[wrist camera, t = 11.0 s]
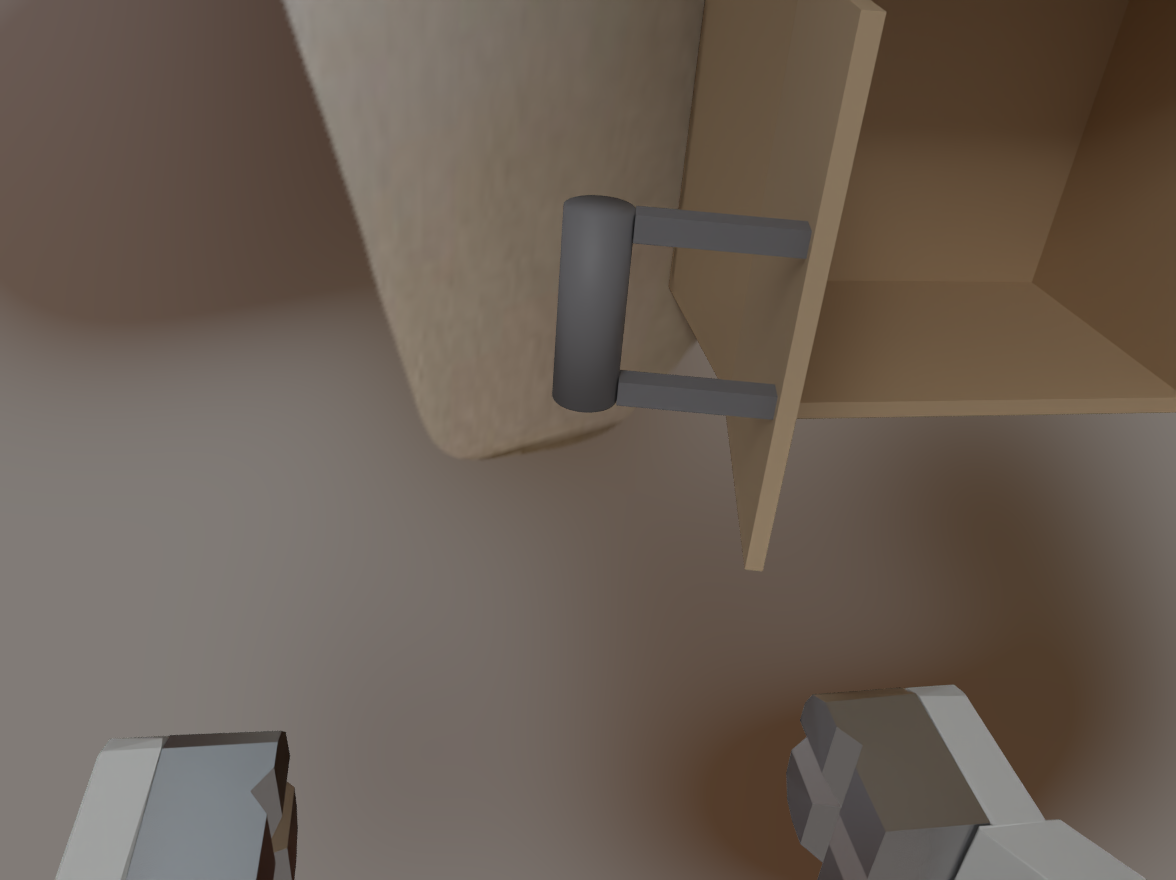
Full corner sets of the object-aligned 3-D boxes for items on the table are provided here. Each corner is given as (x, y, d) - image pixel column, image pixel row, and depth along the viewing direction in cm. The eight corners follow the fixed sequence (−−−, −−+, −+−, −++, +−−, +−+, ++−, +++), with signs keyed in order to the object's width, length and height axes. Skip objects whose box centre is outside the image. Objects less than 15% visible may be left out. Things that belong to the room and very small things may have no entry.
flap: (822, -36, 31) (597, -56, 31) (888, 13, 22) (573, -15, 22) (739, 414, 40) (565, 398, 40) (763, 574, 32) (540, 554, 32)
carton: (715, -86, 43) (826, -50, 31) (1151, -53, 46) (1396, -11, 35) (668, 286, 52) (740, 419, 41) (1032, 289, 56) (1193, 412, 44)
